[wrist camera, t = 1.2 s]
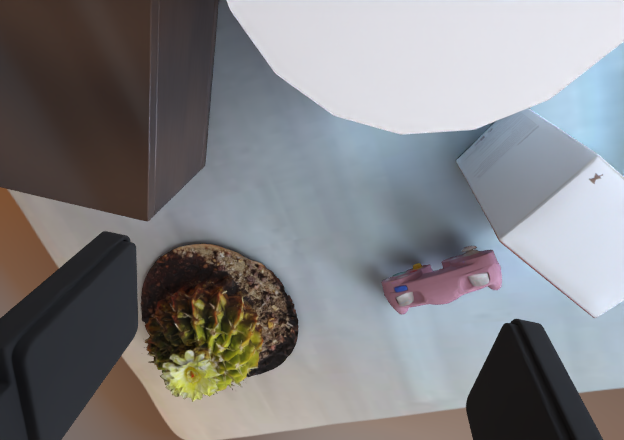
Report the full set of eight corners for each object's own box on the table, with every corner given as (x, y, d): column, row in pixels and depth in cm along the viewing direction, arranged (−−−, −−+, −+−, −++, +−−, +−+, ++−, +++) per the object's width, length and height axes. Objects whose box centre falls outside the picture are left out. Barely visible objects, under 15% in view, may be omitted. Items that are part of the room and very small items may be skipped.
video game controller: (486, 236, 39) (496, 241, 32) (504, 284, 38) (517, 300, 32) (382, 267, 41) (370, 278, 35) (397, 312, 41) (388, 332, 34)
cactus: (322, 359, 46) (311, 442, 37) (194, 383, 50) (157, 463, 41) (259, 220, 39) (227, 282, 30) (116, 261, 43) (53, 326, 35)
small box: (453, 160, 34) (495, 240, 23) (517, 97, 32) (601, 151, 20) (523, 219, 36) (596, 322, 24) (590, 164, 33) (707, 250, 22)
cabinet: (17, -105, 30) (-151, -157, 20) (224, -60, 29) (153, -91, 20) (41, 128, 38) (-71, 170, 28) (205, 166, 37) (147, 222, 28)
